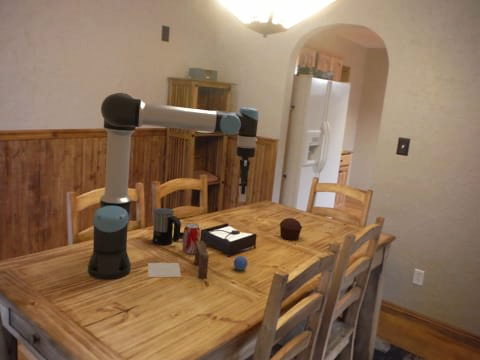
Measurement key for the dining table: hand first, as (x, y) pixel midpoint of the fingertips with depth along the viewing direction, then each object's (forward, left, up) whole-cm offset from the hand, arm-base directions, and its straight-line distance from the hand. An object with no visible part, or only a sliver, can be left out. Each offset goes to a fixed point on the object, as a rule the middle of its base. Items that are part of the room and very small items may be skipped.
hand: (241, 197), depth 166 cm
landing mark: (-31, -12, -27) cm, 43 cm away
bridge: (-17, -12, -27) cm, 34 cm away
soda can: (-19, +6, -27) cm, 34 cm away
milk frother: (-27, +19, -27) cm, 43 cm away
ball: (-1, -12, -24) cm, 27 cm away
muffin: (+33, +24, -27) cm, 49 cm away
